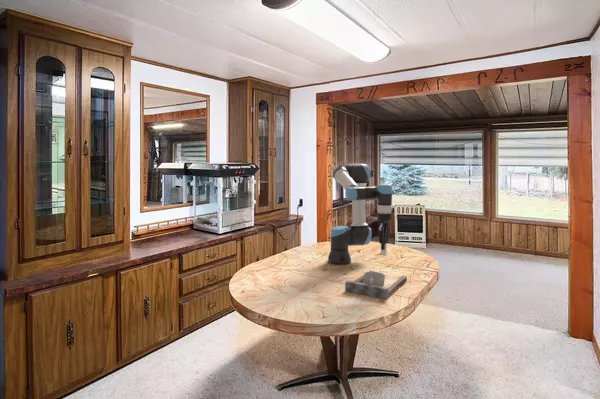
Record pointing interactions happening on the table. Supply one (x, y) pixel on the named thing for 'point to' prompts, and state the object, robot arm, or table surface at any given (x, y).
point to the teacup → (374, 278)
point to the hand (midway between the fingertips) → (383, 254)
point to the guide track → (373, 287)
